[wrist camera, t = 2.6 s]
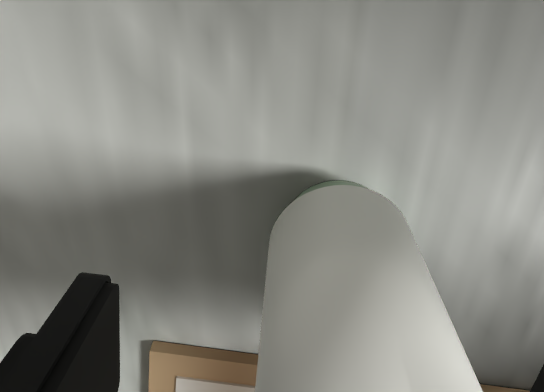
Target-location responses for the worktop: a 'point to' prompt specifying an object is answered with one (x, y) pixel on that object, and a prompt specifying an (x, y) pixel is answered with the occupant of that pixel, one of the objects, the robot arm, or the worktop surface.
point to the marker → (353, 302)
